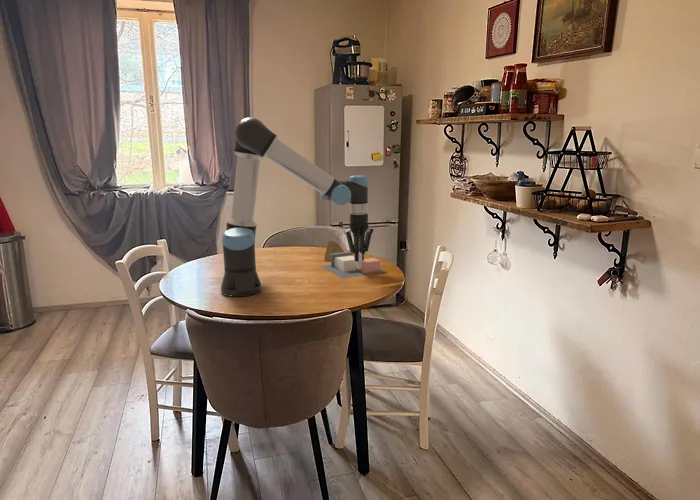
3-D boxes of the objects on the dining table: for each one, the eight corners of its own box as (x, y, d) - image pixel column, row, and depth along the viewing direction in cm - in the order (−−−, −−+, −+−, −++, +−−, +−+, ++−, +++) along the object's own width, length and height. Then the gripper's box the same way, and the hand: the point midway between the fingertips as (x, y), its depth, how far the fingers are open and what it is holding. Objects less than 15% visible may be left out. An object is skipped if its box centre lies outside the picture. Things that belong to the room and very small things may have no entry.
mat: (342, 280, 204) (342, 278, 203) (320, 268, 223) (320, 265, 222) (386, 273, 213) (386, 271, 213) (362, 262, 232) (362, 260, 232)
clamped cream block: (340, 271, 213) (340, 258, 212) (329, 265, 223) (328, 253, 222) (362, 268, 218) (362, 256, 216) (350, 262, 228) (350, 250, 227)
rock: (351, 254, 238) (331, 250, 240) (349, 243, 231) (329, 238, 234) (343, 272, 231) (323, 267, 234) (341, 261, 225) (321, 256, 228)
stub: (363, 273, 211) (363, 262, 209) (357, 270, 215) (357, 260, 214) (380, 270, 214) (380, 260, 213) (373, 267, 219) (373, 257, 218)
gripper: (348, 215, 201) (349, 272, 206) (377, 213, 206) (376, 268, 212) (340, 213, 207) (341, 268, 213) (368, 210, 213) (368, 264, 218)
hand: (359, 268), depth 212 cm, fingers closed
